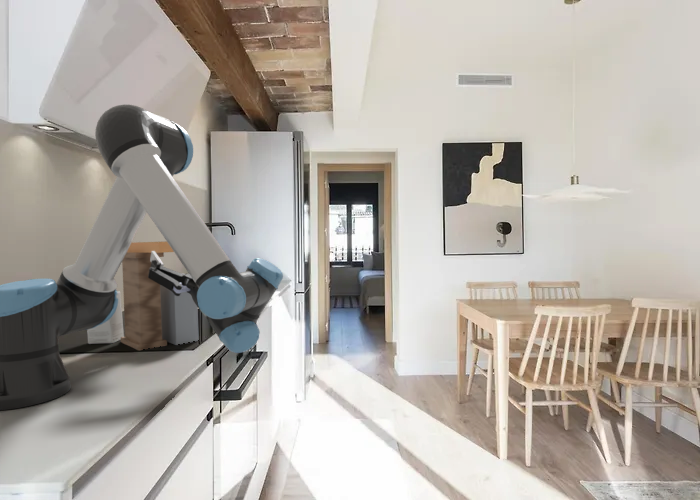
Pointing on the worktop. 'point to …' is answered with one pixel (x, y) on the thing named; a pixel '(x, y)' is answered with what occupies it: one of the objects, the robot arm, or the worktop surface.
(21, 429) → the worktop surface
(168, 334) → the slate block
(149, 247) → the orange blank
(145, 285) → the walnut shelf stand
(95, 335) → the skincare box
